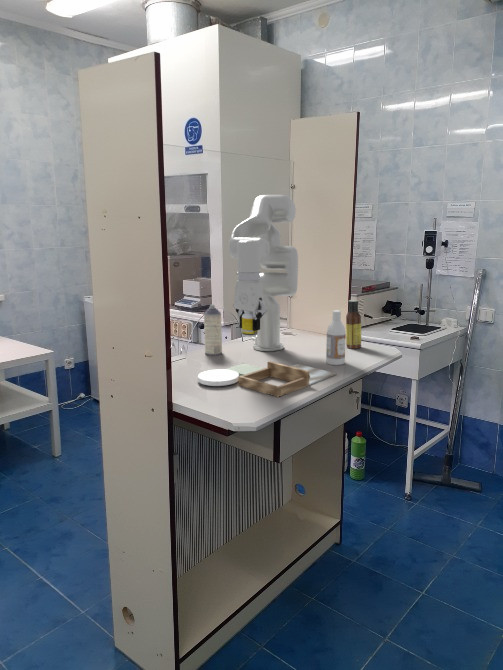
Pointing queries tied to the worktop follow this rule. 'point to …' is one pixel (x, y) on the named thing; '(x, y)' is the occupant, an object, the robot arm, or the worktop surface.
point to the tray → (244, 369)
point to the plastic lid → (218, 377)
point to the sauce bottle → (353, 326)
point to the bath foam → (336, 341)
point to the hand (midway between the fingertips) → (249, 328)
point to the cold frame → (283, 378)
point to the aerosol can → (213, 331)
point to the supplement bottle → (248, 325)
